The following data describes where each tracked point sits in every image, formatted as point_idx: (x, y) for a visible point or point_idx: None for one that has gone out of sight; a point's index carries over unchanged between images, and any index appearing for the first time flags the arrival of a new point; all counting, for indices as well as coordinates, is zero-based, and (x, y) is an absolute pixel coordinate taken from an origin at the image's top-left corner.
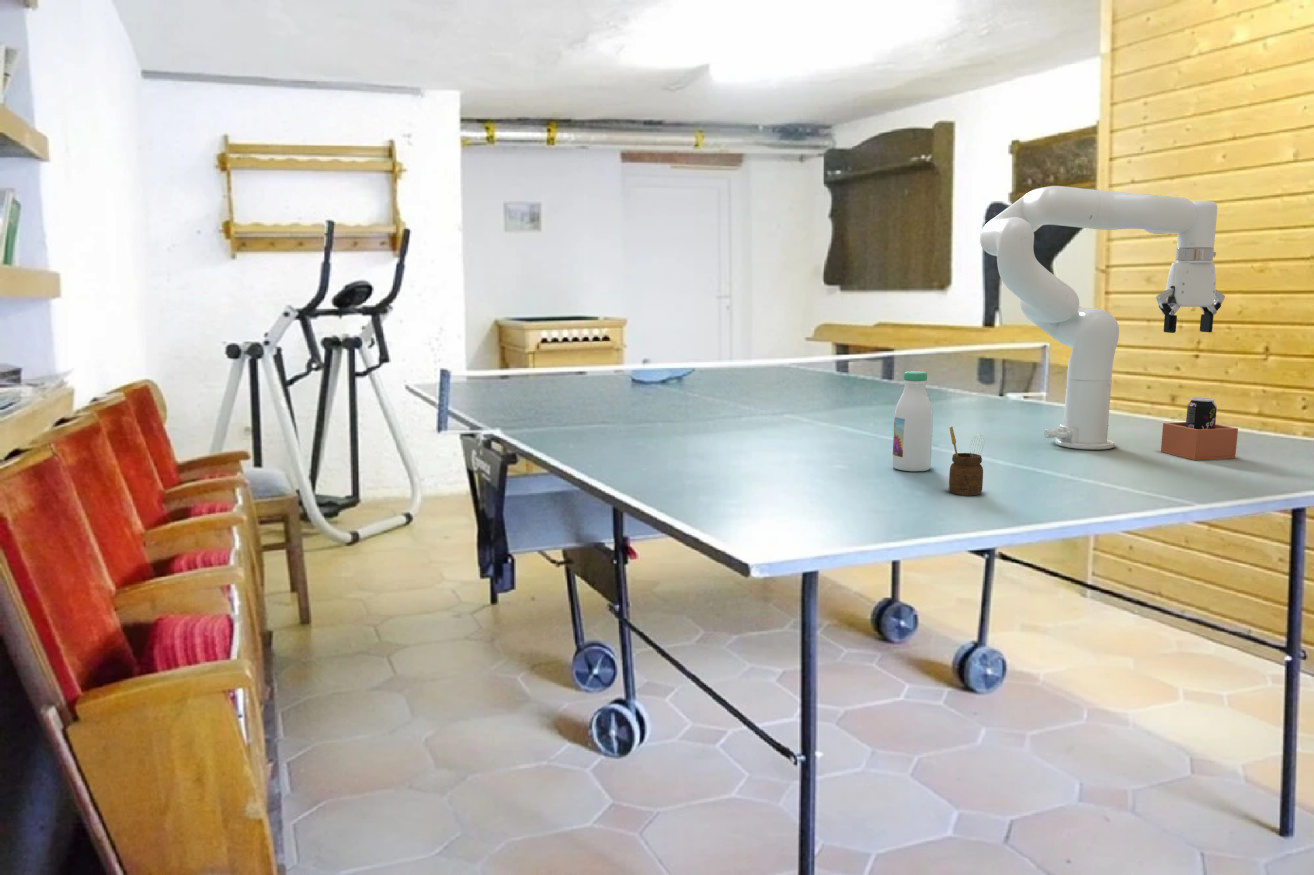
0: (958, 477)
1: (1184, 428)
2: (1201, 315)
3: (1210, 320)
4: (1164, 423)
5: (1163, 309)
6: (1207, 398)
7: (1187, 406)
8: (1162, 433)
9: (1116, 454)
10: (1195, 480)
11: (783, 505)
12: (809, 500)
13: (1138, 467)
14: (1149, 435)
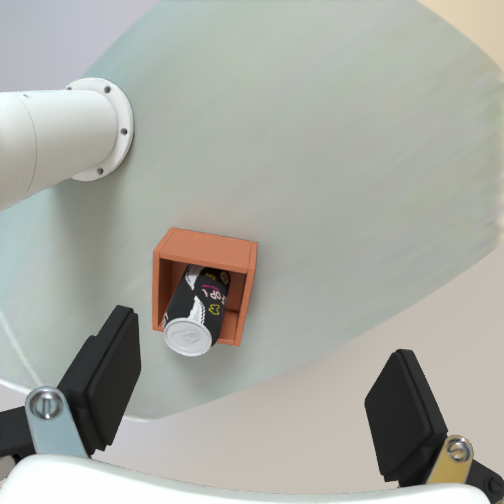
0: None
1: (152, 303)
2: (422, 432)
3: (377, 452)
4: (153, 254)
5: (12, 429)
6: (208, 336)
7: (167, 309)
8: (160, 241)
9: (86, 216)
10: None
11: None
12: None
13: (64, 297)
14: (319, 72)
